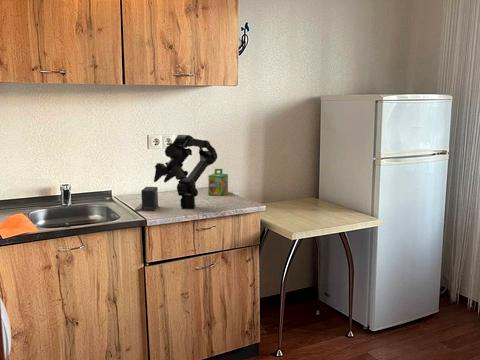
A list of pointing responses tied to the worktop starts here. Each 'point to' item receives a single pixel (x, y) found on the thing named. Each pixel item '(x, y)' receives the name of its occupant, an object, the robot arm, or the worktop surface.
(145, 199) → the small box
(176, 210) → the worktop surface
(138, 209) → the stop strip
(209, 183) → the chalk box
